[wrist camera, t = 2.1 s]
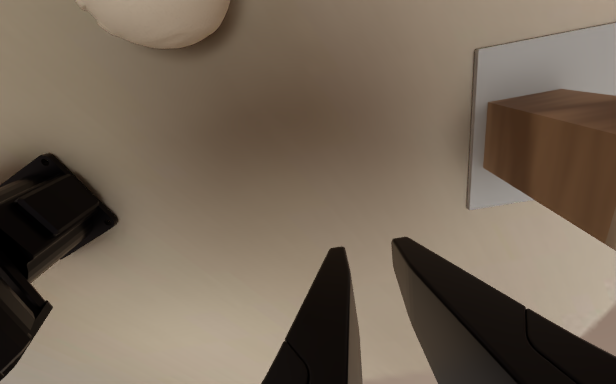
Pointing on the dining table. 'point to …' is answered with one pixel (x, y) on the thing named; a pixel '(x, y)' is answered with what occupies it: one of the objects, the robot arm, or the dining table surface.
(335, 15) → the dining table surface
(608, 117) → the walnut block
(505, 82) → the rubber mat
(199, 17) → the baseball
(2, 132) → the dining table surface
